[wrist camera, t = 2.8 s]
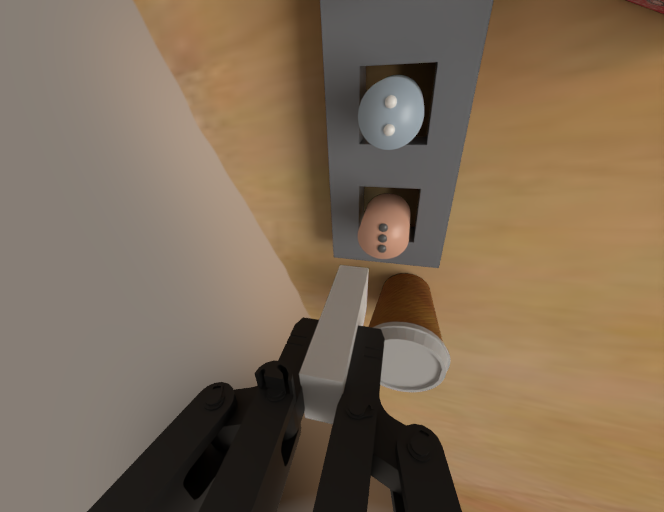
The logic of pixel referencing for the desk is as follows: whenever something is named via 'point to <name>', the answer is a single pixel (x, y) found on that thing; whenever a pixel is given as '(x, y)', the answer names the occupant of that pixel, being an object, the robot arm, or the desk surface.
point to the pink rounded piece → (385, 226)
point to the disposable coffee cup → (409, 336)
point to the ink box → (651, 4)
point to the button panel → (422, 151)
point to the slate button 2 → (391, 112)
